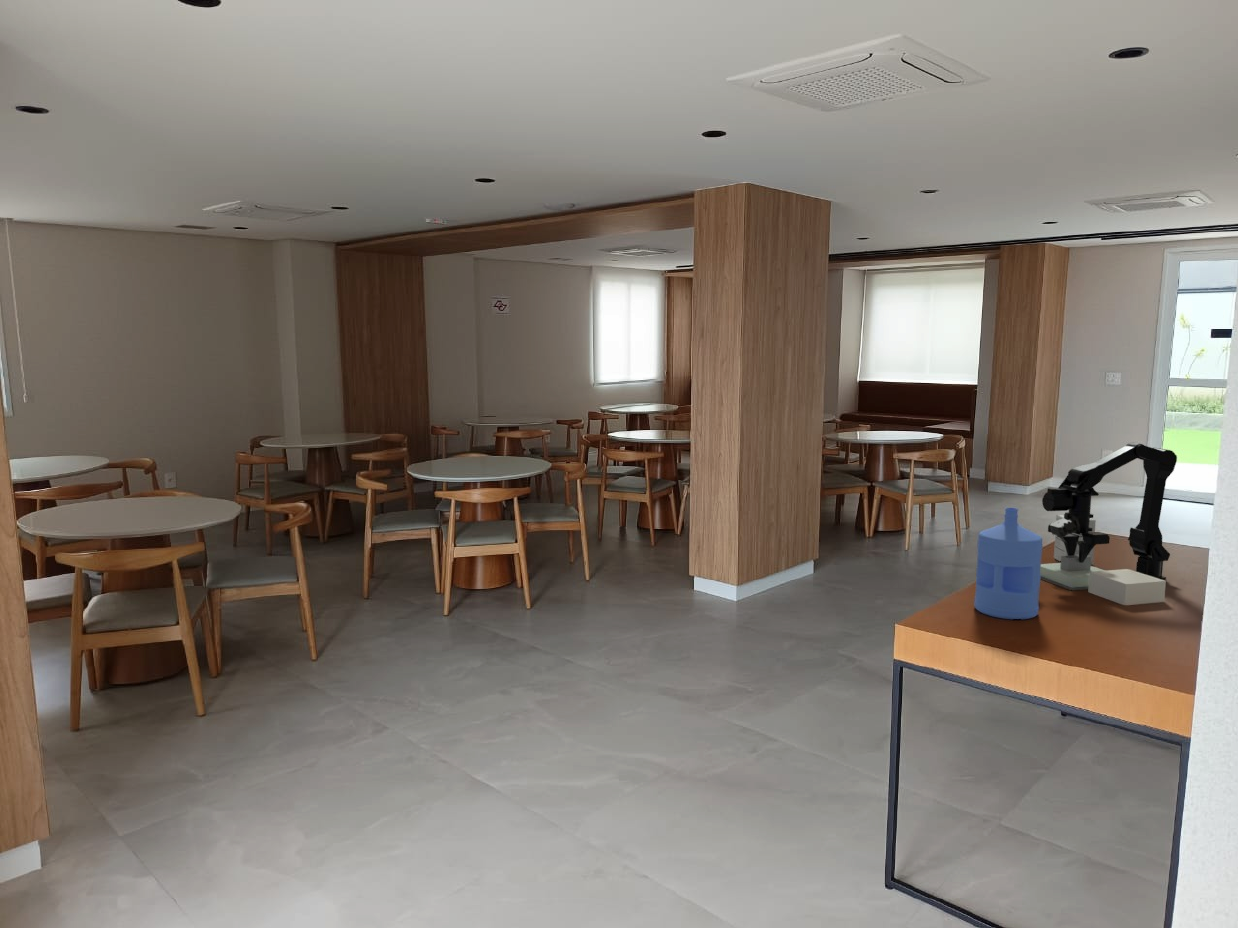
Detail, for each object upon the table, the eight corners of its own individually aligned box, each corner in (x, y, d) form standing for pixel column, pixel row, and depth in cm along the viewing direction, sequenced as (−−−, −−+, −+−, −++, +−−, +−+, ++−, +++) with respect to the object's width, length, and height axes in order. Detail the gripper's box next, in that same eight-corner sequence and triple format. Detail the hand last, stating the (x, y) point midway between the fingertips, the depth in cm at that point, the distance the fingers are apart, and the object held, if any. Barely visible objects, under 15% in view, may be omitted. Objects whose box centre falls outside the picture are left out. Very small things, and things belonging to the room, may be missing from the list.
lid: (1077, 570, 261) (1078, 549, 260) (1115, 583, 246) (1117, 560, 245) (1035, 573, 258) (1036, 551, 257) (1071, 587, 243) (1073, 564, 242)
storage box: (1126, 588, 243) (1127, 568, 242) (1164, 601, 230) (1165, 580, 229) (1088, 592, 240) (1089, 571, 239) (1124, 605, 227) (1126, 584, 226)
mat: (1077, 570, 263) (1077, 569, 263) (1123, 586, 245) (1123, 584, 245) (1028, 574, 259) (1028, 573, 259) (1071, 590, 241) (1071, 589, 241)
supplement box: (1081, 558, 278) (1084, 514, 276) (1093, 565, 269) (1096, 519, 267) (1052, 557, 279) (1055, 514, 277) (1064, 564, 270) (1067, 519, 268)
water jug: (987, 599, 234) (993, 501, 230) (1047, 611, 223) (1053, 508, 219) (964, 611, 223) (969, 509, 219) (1025, 624, 212) (1032, 517, 208)
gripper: (1034, 505, 256) (1031, 555, 258) (1079, 517, 238) (1076, 570, 240) (1065, 504, 259) (1062, 553, 261) (1112, 515, 241) (1109, 568, 243)
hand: (1076, 560), depth 251 cm, fingers open, 4 cm apart
